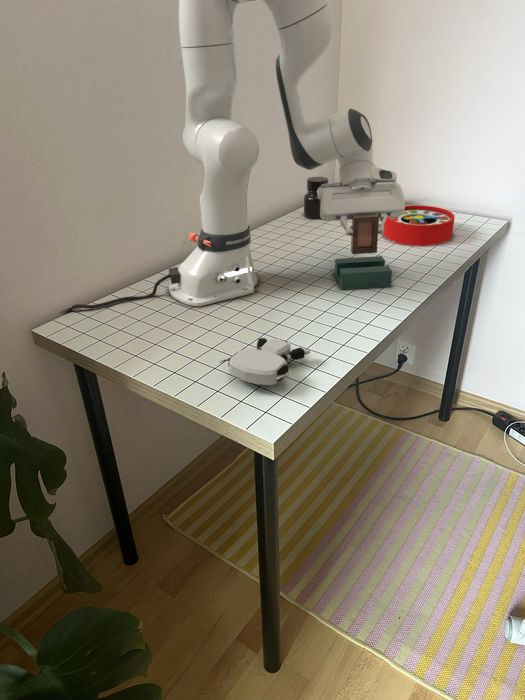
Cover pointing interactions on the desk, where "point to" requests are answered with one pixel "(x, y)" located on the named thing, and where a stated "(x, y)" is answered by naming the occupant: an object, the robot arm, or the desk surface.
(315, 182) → the ink bottle
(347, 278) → the holder
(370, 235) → the frame
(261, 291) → the desk surface
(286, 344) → the robot toy
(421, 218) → the toy clock
